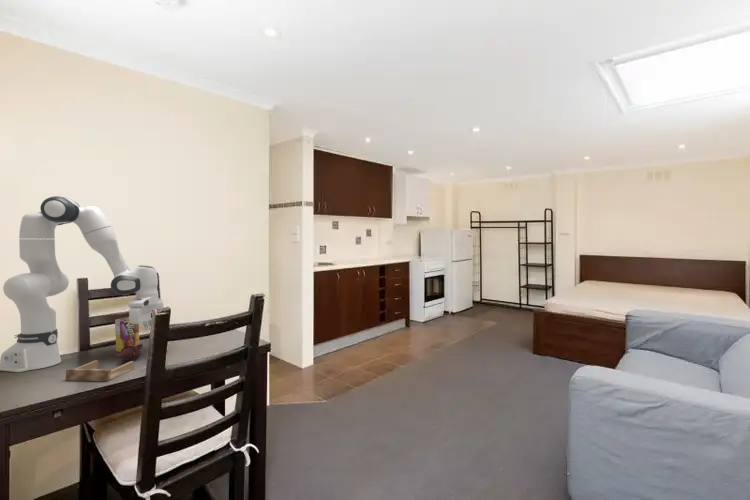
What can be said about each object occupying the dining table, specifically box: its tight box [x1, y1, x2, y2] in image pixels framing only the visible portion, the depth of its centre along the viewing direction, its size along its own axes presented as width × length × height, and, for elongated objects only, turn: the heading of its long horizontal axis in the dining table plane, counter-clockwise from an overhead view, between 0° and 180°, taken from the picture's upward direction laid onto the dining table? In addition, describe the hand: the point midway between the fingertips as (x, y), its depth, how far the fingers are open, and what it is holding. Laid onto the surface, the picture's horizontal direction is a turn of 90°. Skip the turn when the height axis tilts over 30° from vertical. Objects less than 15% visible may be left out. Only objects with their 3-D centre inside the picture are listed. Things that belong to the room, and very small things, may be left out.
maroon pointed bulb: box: [116, 343, 144, 362], centre depth 165 cm, size 7×7×15 cm
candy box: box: [114, 316, 140, 353], centre depth 182 cm, size 9×4×15 cm, turn 152°
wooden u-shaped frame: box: [65, 359, 135, 382], centre depth 149 cm, size 16×14×4 cm
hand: (148, 329), depth 177 cm, fingers closed
